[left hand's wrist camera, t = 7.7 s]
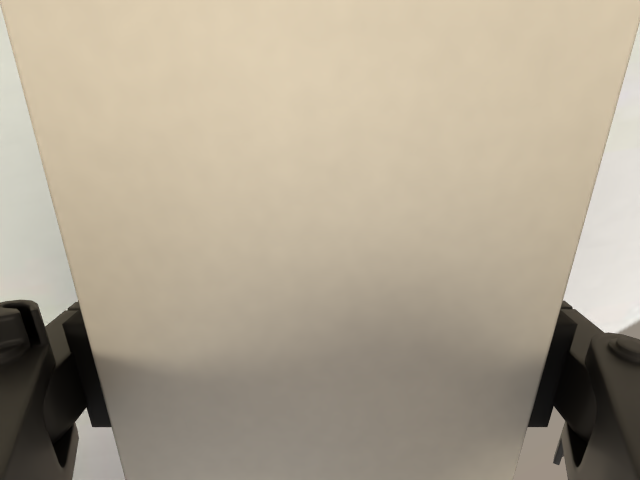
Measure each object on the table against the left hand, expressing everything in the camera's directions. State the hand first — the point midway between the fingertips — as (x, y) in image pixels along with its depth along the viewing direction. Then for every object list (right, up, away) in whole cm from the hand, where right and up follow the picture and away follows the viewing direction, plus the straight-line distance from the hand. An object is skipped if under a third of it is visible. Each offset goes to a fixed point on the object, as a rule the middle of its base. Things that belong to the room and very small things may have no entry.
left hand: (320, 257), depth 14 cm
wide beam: (0, +21, -7) cm, 23 cm away
